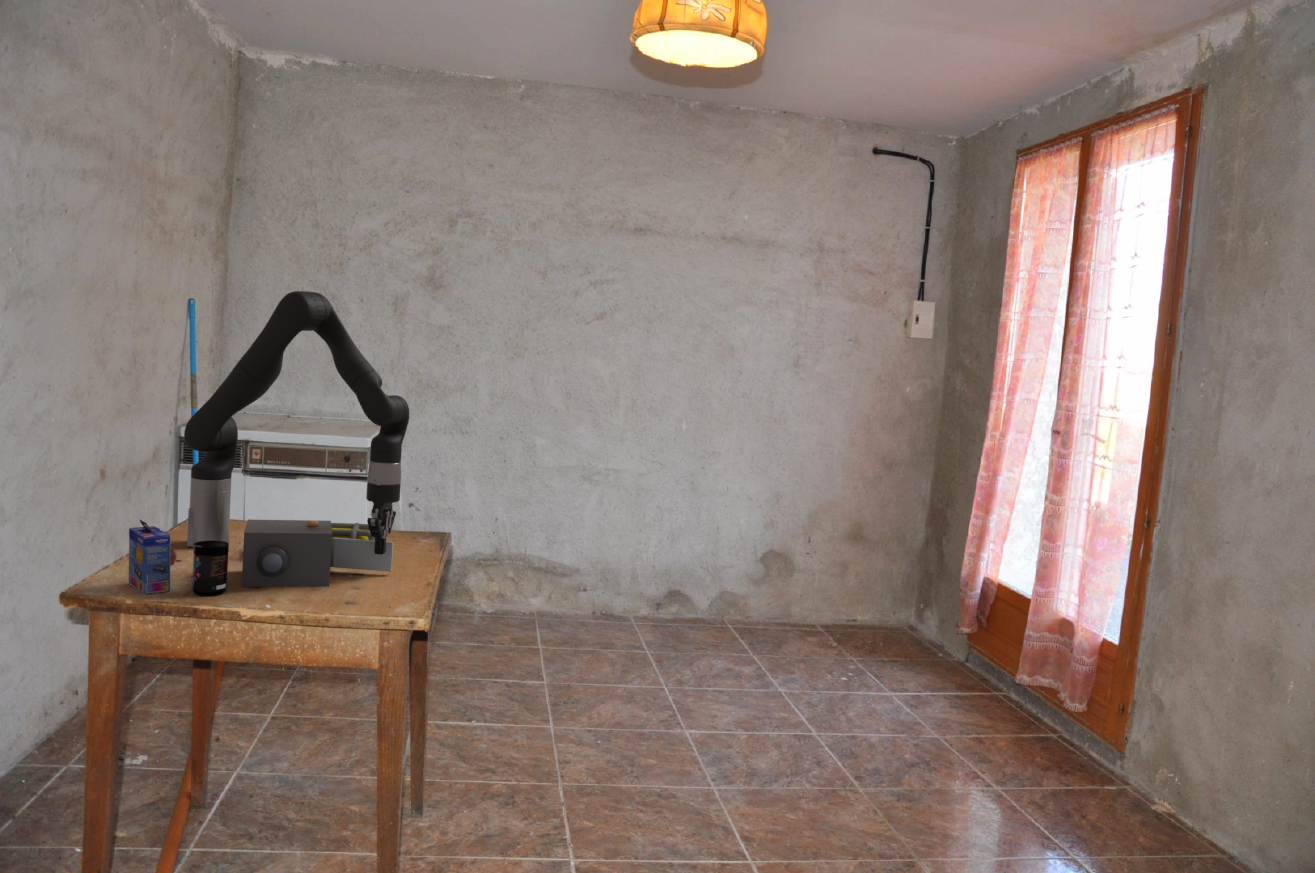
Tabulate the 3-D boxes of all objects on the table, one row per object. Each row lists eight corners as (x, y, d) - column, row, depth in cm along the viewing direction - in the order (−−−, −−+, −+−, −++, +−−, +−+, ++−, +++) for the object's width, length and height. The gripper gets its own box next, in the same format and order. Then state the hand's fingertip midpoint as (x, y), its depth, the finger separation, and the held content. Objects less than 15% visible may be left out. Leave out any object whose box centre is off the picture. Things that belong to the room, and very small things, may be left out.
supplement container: (207, 586, 203) (209, 538, 202) (234, 591, 201) (236, 543, 200) (184, 593, 196) (186, 544, 195) (211, 598, 195) (213, 549, 194)
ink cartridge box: (126, 584, 200) (128, 516, 198) (154, 580, 204) (156, 514, 202) (142, 595, 193) (144, 525, 191) (170, 591, 197) (173, 523, 195)
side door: (390, 571, 224) (392, 542, 223) (329, 566, 223) (331, 537, 223) (392, 570, 225) (394, 541, 225) (331, 565, 225) (332, 536, 224)
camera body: (240, 590, 202) (243, 530, 201) (245, 570, 218) (247, 515, 216) (329, 589, 208) (332, 531, 207) (327, 570, 224) (330, 516, 223)
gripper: (378, 476, 227) (374, 547, 228) (357, 482, 214) (353, 558, 215) (409, 478, 226) (404, 549, 228) (390, 485, 213) (385, 561, 215)
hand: (379, 553), depth 221 cm, fingers closed
